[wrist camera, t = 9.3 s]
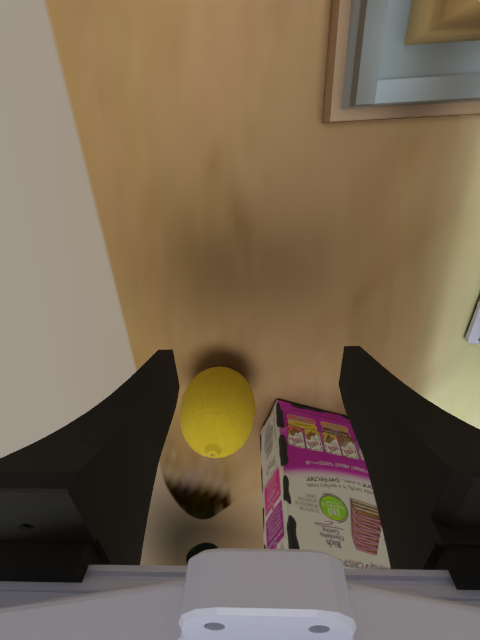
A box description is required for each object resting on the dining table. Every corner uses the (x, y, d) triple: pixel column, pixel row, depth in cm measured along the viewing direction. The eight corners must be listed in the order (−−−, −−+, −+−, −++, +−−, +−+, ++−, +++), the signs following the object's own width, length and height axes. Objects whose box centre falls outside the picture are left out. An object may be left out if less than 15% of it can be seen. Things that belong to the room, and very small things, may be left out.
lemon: (177, 366, 27) (151, 446, 20) (230, 336, 25) (222, 412, 18) (215, 406, 29) (204, 490, 22) (266, 381, 27) (272, 463, 20)
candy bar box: (257, 432, 31) (262, 686, 17) (275, 396, 28) (299, 658, 14) (361, 457, 32) (448, 710, 18) (387, 424, 30) (511, 689, 15)
